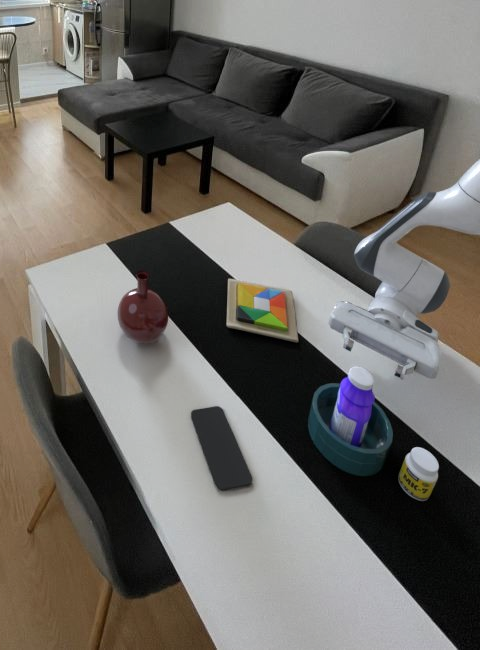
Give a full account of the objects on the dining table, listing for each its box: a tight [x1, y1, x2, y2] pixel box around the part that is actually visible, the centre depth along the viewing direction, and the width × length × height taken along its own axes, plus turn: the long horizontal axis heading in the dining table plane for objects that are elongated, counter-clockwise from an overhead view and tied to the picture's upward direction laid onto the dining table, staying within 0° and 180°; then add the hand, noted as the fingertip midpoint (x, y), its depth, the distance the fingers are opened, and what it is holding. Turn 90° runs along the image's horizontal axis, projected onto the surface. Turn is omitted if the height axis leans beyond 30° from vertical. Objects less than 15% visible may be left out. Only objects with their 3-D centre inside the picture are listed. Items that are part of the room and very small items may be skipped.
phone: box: [190, 405, 253, 492], centre depth 87 cm, size 7×1×15 cm
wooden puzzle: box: [226, 278, 299, 343], centre depth 118 cm, size 18×19×4 cm
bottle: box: [331, 366, 376, 448], centre depth 84 cm, size 7×6×17 cm
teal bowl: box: [307, 382, 394, 477], centre depth 86 cm, size 14×14×7 cm
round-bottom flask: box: [116, 269, 169, 344], centre depth 110 cm, size 13×13×20 cm
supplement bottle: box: [397, 446, 440, 502], centre depth 78 cm, size 5×5×8 cm
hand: (372, 361), depth 90 cm, fingers open, 8 cm apart
